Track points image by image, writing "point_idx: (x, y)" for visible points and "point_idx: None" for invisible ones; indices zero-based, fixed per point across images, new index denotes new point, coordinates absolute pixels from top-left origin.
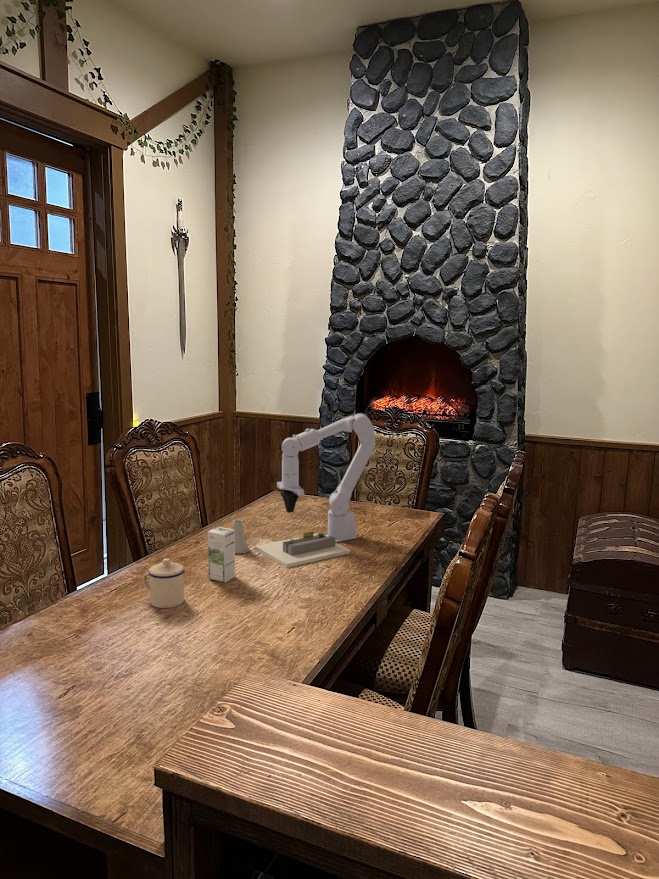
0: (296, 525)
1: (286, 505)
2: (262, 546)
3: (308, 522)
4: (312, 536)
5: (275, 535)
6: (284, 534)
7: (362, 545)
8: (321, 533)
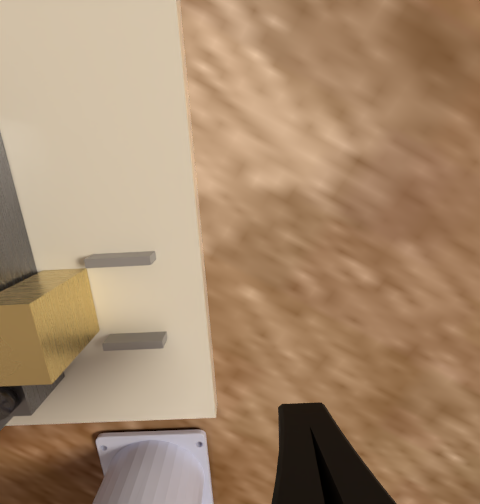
0: (433, 416)
1: (330, 475)
2: (141, 33)
3: (434, 476)
4: None
5: (359, 253)
6: (344, 302)
7: (29, 494)
8: (3, 413)
